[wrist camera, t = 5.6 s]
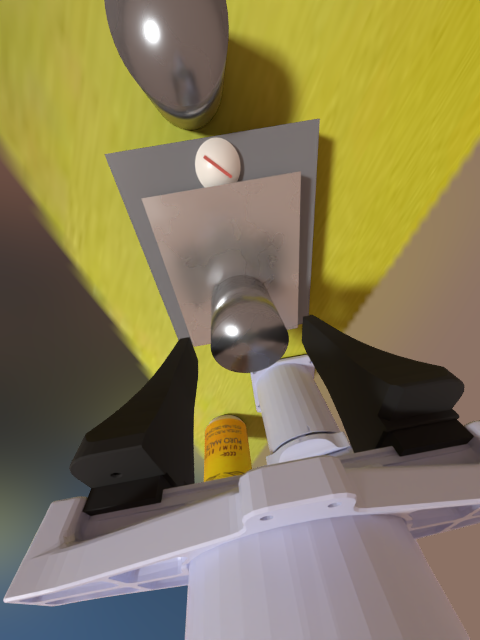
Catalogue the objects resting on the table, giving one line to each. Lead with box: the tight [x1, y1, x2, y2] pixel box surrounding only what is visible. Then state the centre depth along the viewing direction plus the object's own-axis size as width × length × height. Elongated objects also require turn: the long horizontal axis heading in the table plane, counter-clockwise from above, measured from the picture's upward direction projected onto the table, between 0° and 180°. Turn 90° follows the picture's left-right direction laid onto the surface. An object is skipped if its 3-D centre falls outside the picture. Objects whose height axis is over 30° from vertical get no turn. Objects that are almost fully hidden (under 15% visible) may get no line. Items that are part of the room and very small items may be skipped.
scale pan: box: [141, 171, 301, 347], centre depth 15 cm, size 11×9×1 cm
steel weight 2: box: [211, 275, 289, 373], centre depth 14 cm, size 4×4×5 cm
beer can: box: [204, 415, 252, 482], centre depth 25 cm, size 6×6×15 cm
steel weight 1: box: [104, 0, 229, 130], centre depth 10 cm, size 4×4×5 cm
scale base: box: [105, 119, 320, 344], centre depth 16 cm, size 14×12×3 cm
